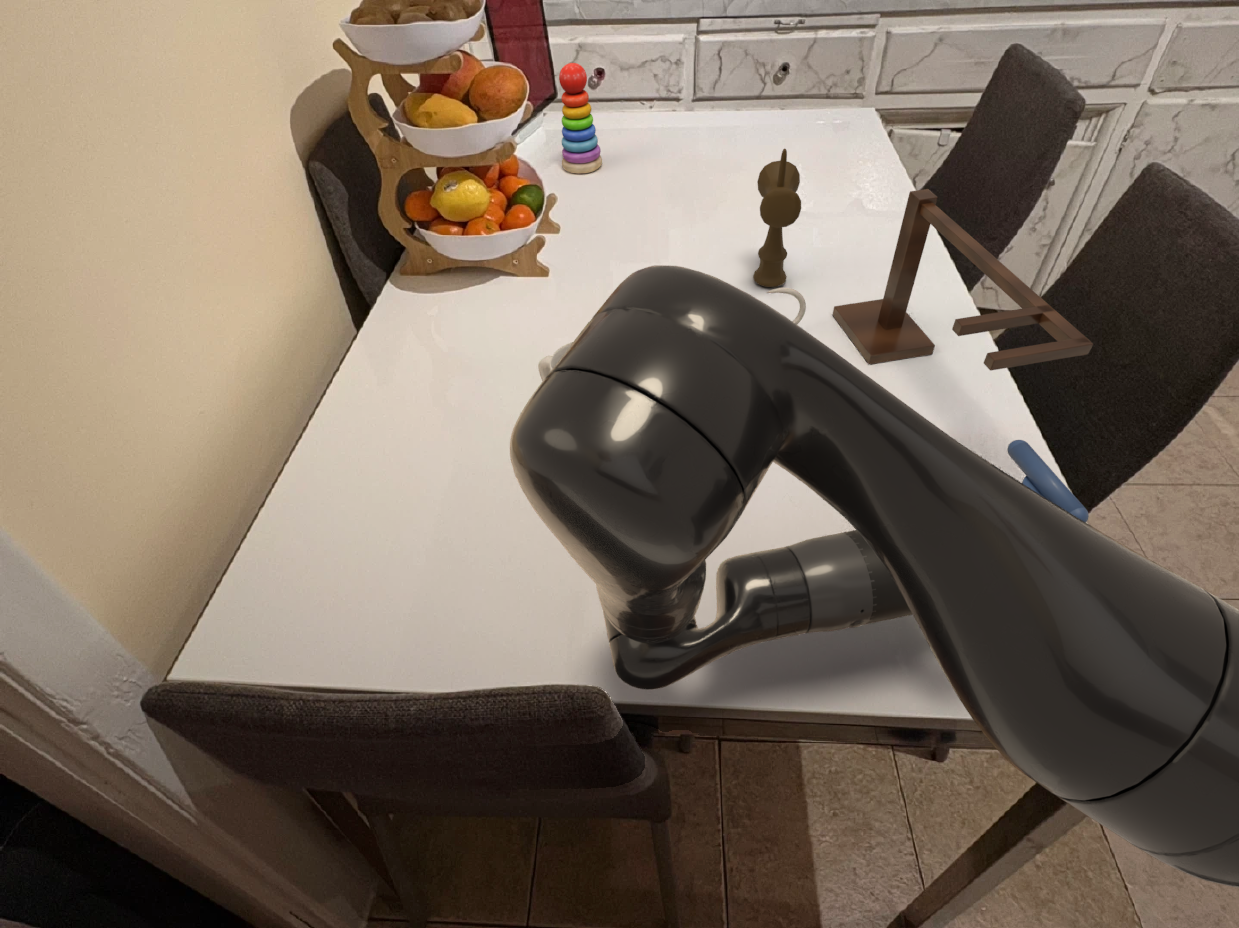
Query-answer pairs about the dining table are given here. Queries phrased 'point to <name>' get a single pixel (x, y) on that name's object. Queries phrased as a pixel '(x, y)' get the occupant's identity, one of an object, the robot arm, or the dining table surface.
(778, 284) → the kendama
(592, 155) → the stacking toy
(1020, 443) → the peg
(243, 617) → the dining table surface
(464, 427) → the dining table surface
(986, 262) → the stand
